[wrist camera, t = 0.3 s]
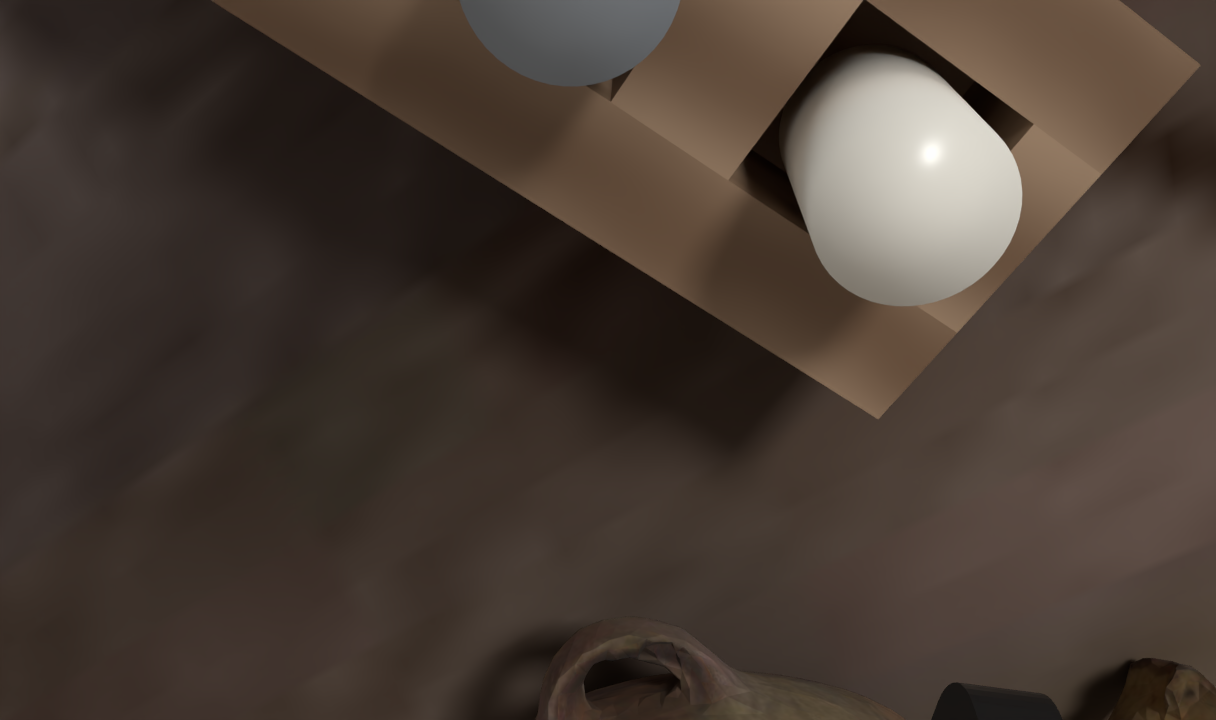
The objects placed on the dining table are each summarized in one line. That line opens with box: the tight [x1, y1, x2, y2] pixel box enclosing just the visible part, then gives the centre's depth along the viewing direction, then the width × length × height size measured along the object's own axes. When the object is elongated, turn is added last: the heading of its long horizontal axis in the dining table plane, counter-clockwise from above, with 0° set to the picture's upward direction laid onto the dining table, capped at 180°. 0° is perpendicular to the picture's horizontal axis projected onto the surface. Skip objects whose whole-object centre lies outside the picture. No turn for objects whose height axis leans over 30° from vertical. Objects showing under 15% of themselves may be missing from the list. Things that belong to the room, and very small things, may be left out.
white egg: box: [779, 44, 1022, 306], centre depth 28 cm, size 5×5×6 cm
